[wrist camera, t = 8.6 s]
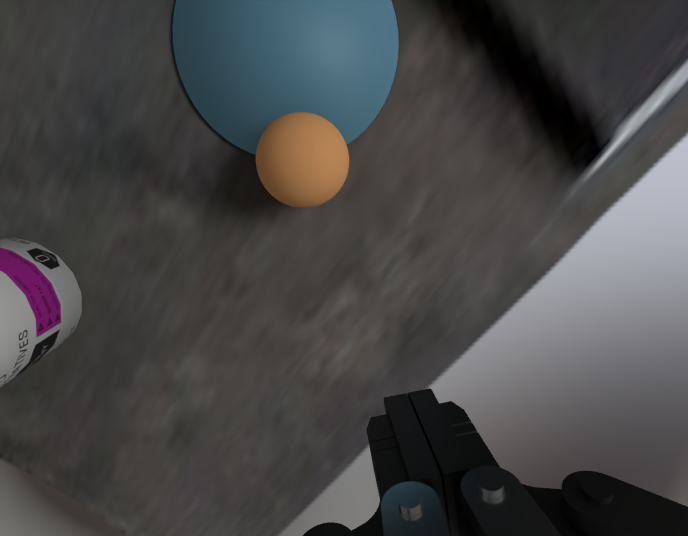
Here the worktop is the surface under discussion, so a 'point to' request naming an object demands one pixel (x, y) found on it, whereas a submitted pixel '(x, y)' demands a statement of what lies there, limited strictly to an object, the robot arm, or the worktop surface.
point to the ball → (302, 159)
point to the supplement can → (33, 304)
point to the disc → (285, 62)
